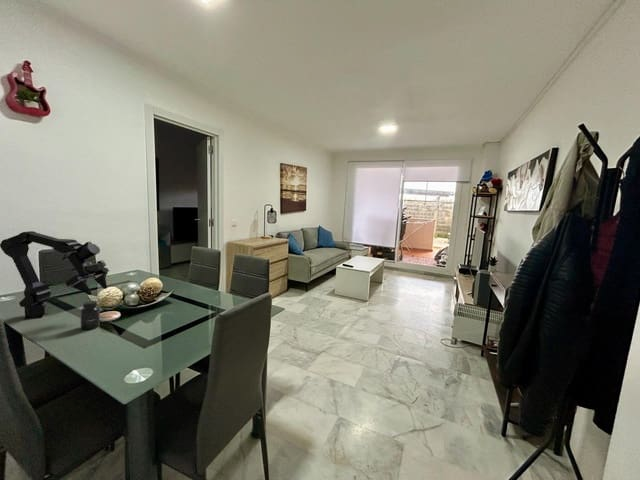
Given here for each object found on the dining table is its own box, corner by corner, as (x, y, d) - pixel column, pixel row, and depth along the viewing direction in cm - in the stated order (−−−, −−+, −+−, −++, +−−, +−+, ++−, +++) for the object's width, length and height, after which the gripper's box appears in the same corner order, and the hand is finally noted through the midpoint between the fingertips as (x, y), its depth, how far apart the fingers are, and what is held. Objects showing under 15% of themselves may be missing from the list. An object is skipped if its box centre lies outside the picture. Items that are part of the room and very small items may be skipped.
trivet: (93, 322, 129) (93, 320, 129) (97, 314, 138) (97, 312, 138) (118, 319, 134) (118, 317, 134) (121, 312, 143) (121, 310, 143)
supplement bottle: (88, 331, 121) (88, 306, 119) (76, 329, 122) (75, 303, 121) (103, 325, 128) (103, 301, 126) (92, 323, 129) (91, 299, 127)
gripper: (76, 259, 118) (96, 289, 120) (109, 252, 137) (126, 278, 139) (55, 271, 119) (76, 301, 121) (90, 262, 138) (108, 288, 139)
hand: (98, 291), depth 130 cm, fingers open, 9 cm apart
